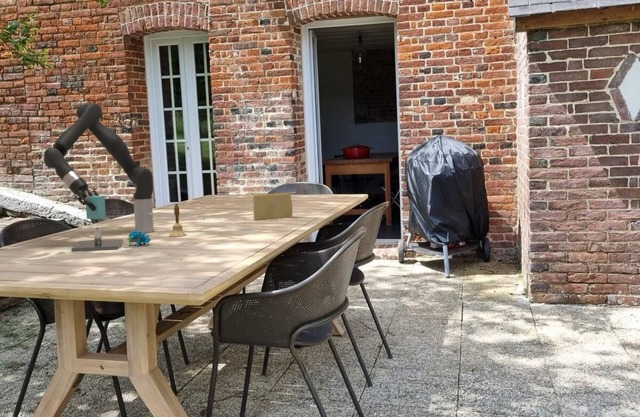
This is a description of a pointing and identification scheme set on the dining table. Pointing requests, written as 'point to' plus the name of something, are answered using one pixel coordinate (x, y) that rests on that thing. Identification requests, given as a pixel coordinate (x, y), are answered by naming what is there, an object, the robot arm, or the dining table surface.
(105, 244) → the mount plate
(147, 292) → the dining table surface
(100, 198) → the cap
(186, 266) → the dining table surface
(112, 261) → the dining table surface
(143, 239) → the blue spiky toy
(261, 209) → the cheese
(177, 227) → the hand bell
